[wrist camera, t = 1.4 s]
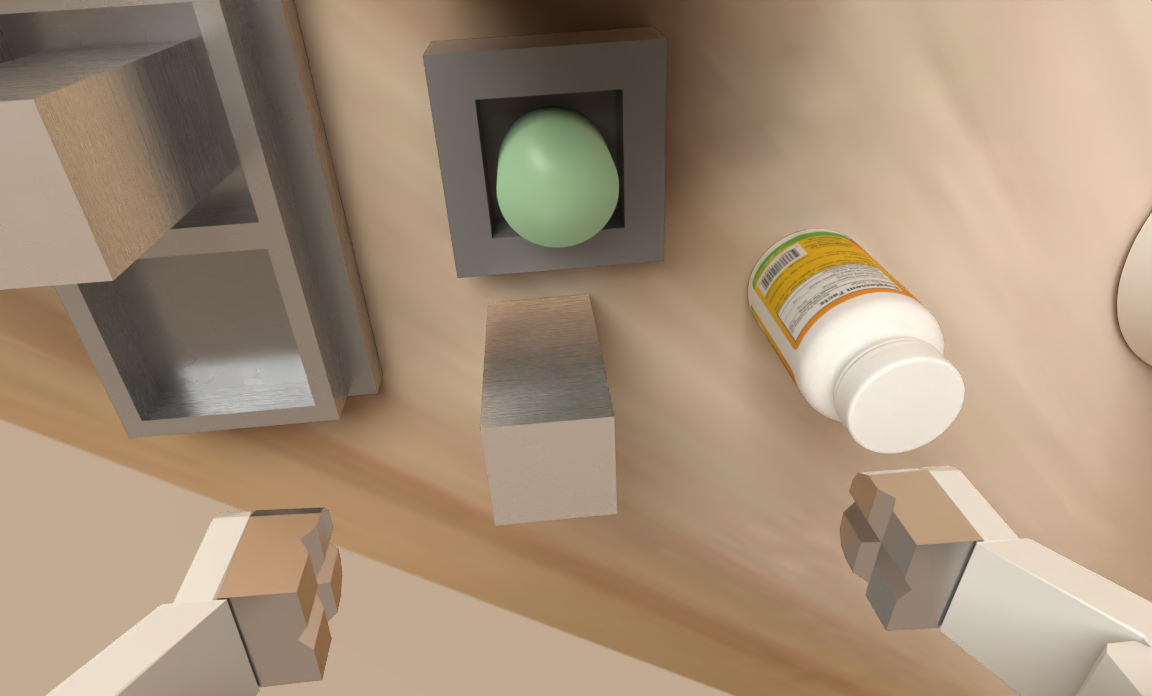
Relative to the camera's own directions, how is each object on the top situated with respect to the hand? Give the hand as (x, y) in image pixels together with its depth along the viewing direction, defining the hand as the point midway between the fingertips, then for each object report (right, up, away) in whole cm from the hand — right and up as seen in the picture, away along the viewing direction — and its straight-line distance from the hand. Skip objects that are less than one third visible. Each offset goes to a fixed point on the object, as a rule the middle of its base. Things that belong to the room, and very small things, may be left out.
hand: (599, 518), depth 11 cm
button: (-1, +9, +15) cm, 17 cm away
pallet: (-15, +8, +17) cm, 24 cm away
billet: (-2, +3, +21) cm, 22 cm away
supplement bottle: (+10, +6, +21) cm, 24 cm away
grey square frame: (-1, +11, +17) cm, 20 cm away
